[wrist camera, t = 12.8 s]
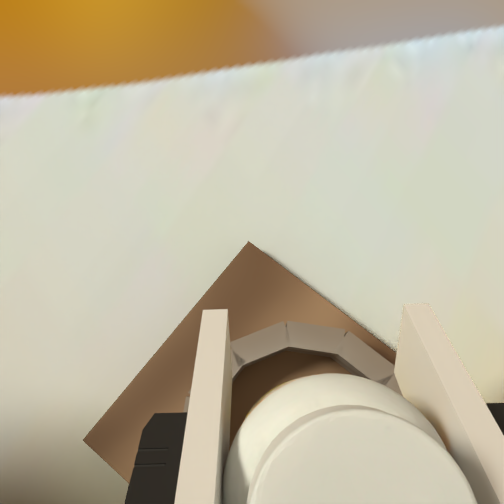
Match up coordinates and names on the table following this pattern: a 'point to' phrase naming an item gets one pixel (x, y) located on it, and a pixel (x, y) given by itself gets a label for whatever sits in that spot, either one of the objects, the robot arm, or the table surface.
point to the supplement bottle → (339, 448)
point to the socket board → (246, 316)
